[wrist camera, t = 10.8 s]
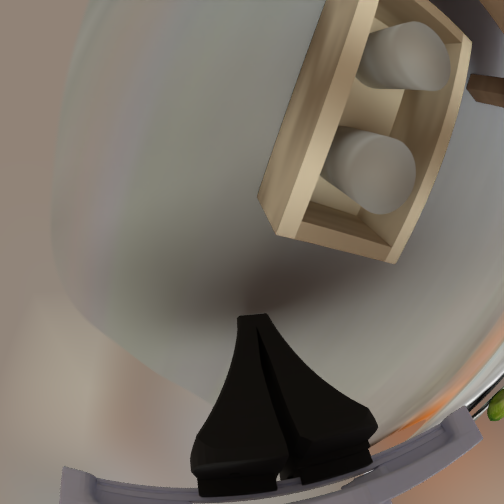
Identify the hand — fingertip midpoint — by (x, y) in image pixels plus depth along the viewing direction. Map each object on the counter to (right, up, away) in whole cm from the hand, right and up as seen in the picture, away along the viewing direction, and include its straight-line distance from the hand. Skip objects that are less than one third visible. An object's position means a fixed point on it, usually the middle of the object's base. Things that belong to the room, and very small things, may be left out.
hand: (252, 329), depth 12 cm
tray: (+4, +10, -3) cm, 11 cm away
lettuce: (+96, -52, +48) cm, 119 cm away
